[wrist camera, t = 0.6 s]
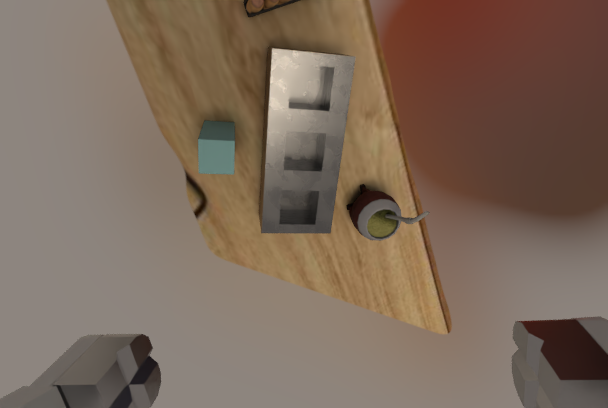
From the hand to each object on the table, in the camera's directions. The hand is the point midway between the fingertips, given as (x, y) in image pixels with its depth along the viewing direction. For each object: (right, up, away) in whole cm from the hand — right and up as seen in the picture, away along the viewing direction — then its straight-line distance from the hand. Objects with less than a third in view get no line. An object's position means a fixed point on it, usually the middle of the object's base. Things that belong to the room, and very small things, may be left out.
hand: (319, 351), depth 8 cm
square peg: (-12, +13, +43) cm, 46 cm away
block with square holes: (-1, +13, +45) cm, 47 cm away
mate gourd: (+10, +4, +51) cm, 52 cm away
